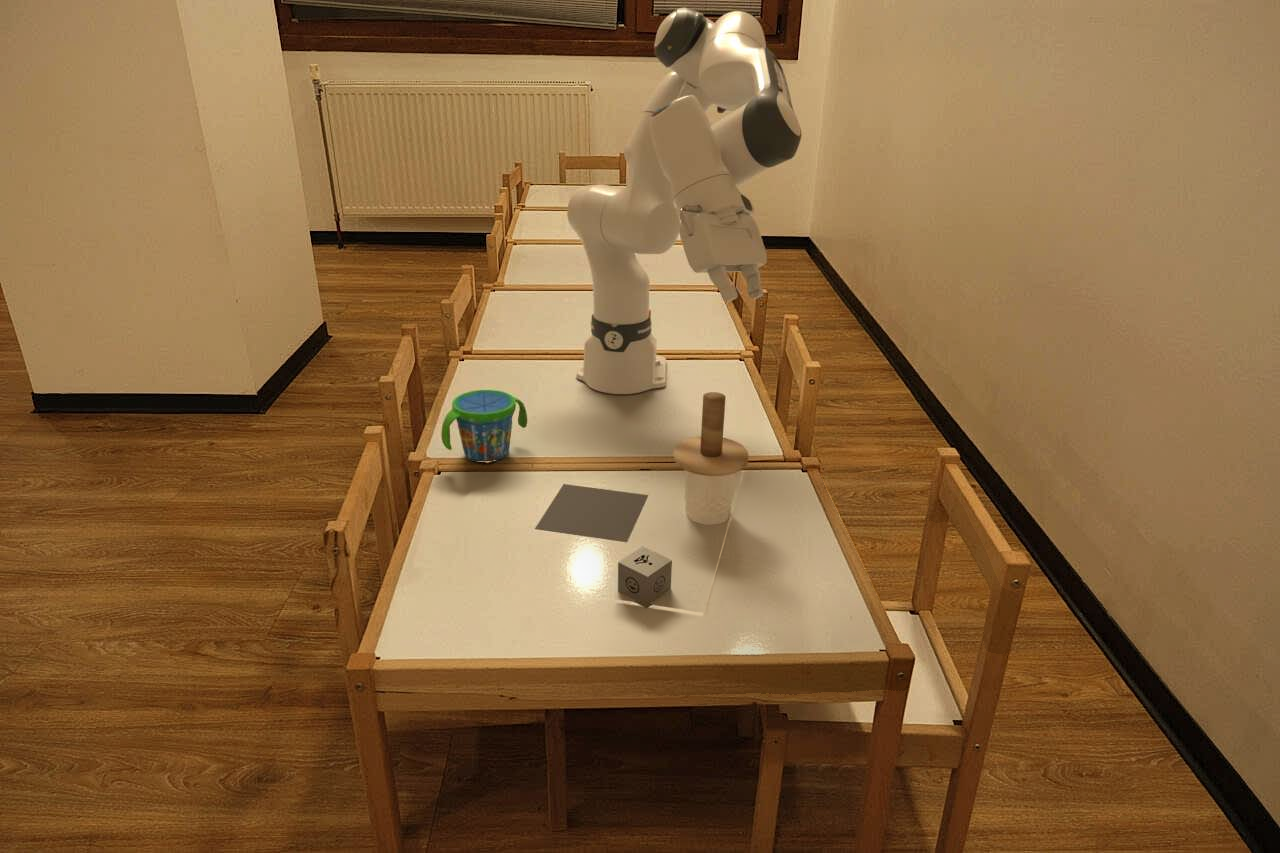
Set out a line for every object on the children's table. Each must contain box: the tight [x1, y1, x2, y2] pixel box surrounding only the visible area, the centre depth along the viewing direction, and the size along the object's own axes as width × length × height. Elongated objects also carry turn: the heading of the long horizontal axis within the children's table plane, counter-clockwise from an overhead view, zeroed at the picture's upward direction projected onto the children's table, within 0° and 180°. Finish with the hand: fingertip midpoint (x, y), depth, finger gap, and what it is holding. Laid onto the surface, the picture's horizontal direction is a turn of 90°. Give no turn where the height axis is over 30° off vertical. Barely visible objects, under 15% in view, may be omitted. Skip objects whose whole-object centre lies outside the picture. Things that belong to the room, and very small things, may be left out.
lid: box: [673, 391, 749, 476], centre depth 131 cm, size 11×11×10 cm
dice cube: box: [617, 546, 673, 609], centre depth 118 cm, size 5×5×5 cm
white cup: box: [684, 470, 737, 526], centre depth 135 cm, size 8×8×10 cm
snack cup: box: [440, 389, 528, 462], centre depth 152 cm, size 16×10×10 cm
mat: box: [534, 483, 649, 543], centre depth 137 cm, size 14×14×1 cm
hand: (744, 298), depth 127 cm, fingers open, 8 cm apart
